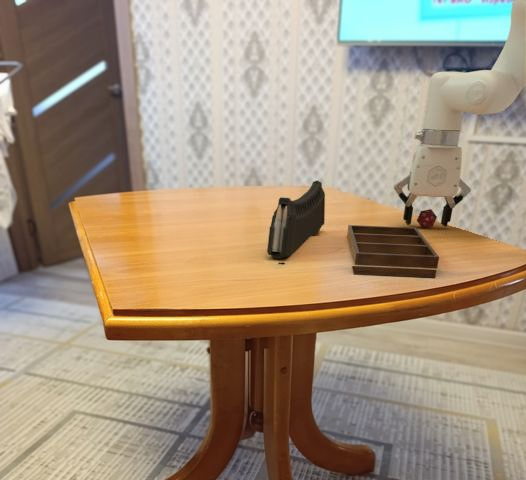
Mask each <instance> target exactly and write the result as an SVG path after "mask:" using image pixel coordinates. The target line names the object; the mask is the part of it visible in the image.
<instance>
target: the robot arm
mask: <svg viewBox="0 0 526 480" xmlns="http://www.w3.org/2000/svg"><path fill="white" fill-rule="evenodd" d="M511 4H512V5H511V9H510V25H509V31H508V35H507V38H506V40H505V44H504V45H503V48H502V50H501V52H500V54H499V56H498V57H497V59H496V61H495V63H494V65H493V66H492V67H491V69H482V70H481V69H480V70H474V71H469V72H463V71H439V72H435V73H434V74H432V75H431V77H430V80H429V84H428V92H427V99H426V105H425V110H424V111H425V112H424V118H423V125H422V129H421V130H420V131H418V132H414V140H417V141H419V143H420V144H417V145H416V148H415V151H414V154H413V157H412V162H411V165H410V170H409V174H408V175H407V176H405V177H404V178H402V179H401V180H399V181H398V182H396V183H395V184H394V185H393V189H394V191H395V193H396V194H397V195H398V196H397V197H399V199H400V200H401V201H402V203H403V204H404V209H403V210H404V211H403V221H404V222H405V224H406V226H410V225H411V224H412V218H413V213H414V207H413V203H414V202H415V201H416V199H417V197H433V198H444V201H445V205H444V206H443V209H442V214H441V220H440V224H441V225H442V226H443V227H448V225H449V223H451V220H452V215H453V209H455V207H456V206H457V205H458V204H459V203H461V202H462V201H463V200H464V198H466V197H467V195H469V193H470V192H471V191H472V188H471V187H470V186H468V184H467V183H466V182H464V181H463V180H462V178H461V171H462V159H463V148H462V147H461V146H459V141H460V136H461V131H462V125H463V120H464V114H465V113H467V114H472V115H488V114H489V115H491V114H498V113H501V112H503V111H505V110H506V109H508V108H509V107H510V106H511V105H512V104H513V103H514V102H515V100H517V97H518V96H519V94H520V93H521V91H522V90H523V88H524V87H525V85H526V0H512V3H511ZM406 186H407V188H406V189H407V191H408V192H409V193H408V194H407V195H406V194H405V192H404V190H403V188H404V187H406ZM459 188H460V191H459ZM458 191H459V193H458Z"/></svg>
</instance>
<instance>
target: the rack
mask: <svg viewBox="0 0 526 480" xmlns="http://www.w3.org/2000/svg"><path fill="white" fill-rule="evenodd" d="M346 238H347V239H348V243H349V248H350V251H351V256H352V259H353V263H354V265H351V268H352V272H353V275H355V276H356V275H357V276H374V277H375V276H378V277H398V278H419V279H421V278H422V279H436V276H437V272H438V265H439V260H440V256H439V254H437V252H436V251H435V250H434V249H433V247H432V246H431V245H430V243H429V242H428V240H427V239H426V238H425V237H424V235H423V234H422V232H421V231H420V230H419V229H418V227H412V226H411V227H409V226H384V225H380V226H378V225H361V224H360V225H359V224H358V225H357V224H348V225H347V234H346Z"/></svg>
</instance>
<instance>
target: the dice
mask: <svg viewBox="0 0 526 480" xmlns="http://www.w3.org/2000/svg"><path fill="white" fill-rule="evenodd" d="M437 219H438V216H437V215H436V213H435V212H434V211H433V209H431V208H430V209H424V210H420V212H419V214H418V216H417V218H416V222H417V223H418V225H419V226H420V227H421V228H422V229H426V228H427V229H428V228H433V227H434V225H435V223H436V220H437Z"/></svg>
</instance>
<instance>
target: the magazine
mask: <svg viewBox="0 0 526 480" xmlns="http://www.w3.org/2000/svg"><path fill="white" fill-rule="evenodd" d="M277 203H278V204H277V206H276V209H275V210H274V212H273V215H272V217H271V223H270V226H269V231H268V240H267V250H266V253H267V255H268V256H271V257H272V258H273V259H276V260H277V259H278V260H282V259H285V258H290V257H291V256H293V255H294V254H295V252H296V251H298V249H300V248H301V247H302V245H304V244H305V242H306V241H308V240H309V239H310V238H311V237H316V236H317V235H318V233H319V232H320V230H321V228H322V227H323V226H324V225H325V221H326V220H325V217H326V216H325V212H326V211H325V209H326V194H325V191H324V189H323V183H322V182H321V181H320V180H314V181H312V183H311V185H310V188H309V189H308V190H307V191H306V192H304V194H303V195H302V196H300V197H299V198H297V199H294V200H292V199H291V198H290V197H283V196H282V197H279V198H278V202H277ZM278 265H284V266H285V265H286V263H285V262H279V261H278Z"/></svg>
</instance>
